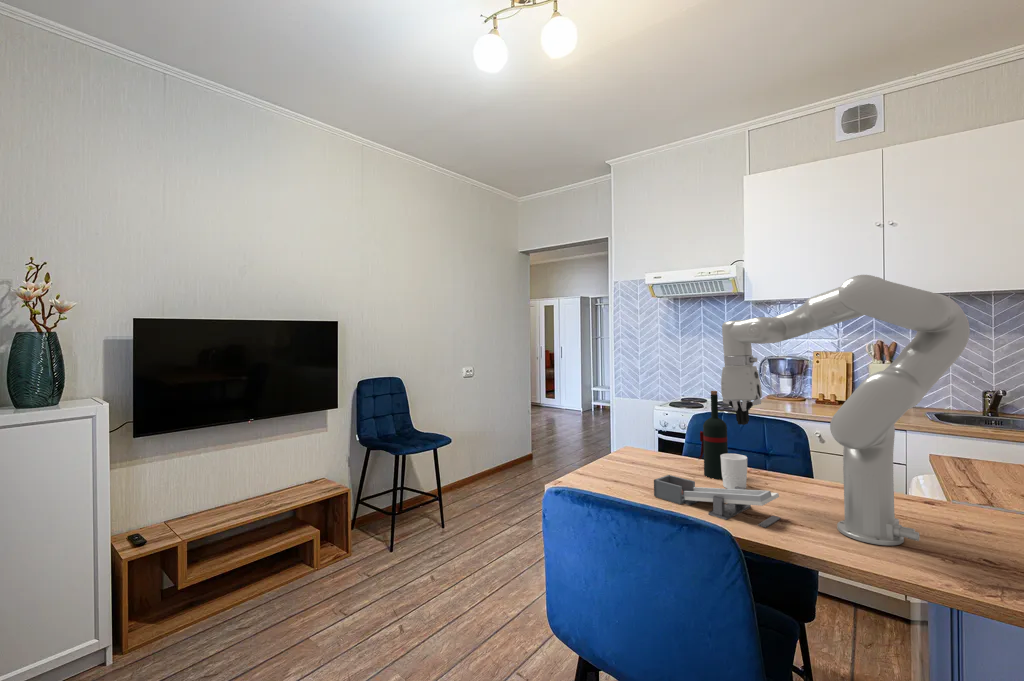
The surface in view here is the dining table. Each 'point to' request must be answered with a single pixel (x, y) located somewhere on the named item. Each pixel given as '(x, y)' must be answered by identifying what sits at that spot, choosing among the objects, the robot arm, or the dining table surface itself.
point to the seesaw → (731, 495)
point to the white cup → (734, 470)
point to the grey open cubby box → (672, 488)
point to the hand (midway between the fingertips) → (743, 423)
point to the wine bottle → (713, 441)
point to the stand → (732, 510)
